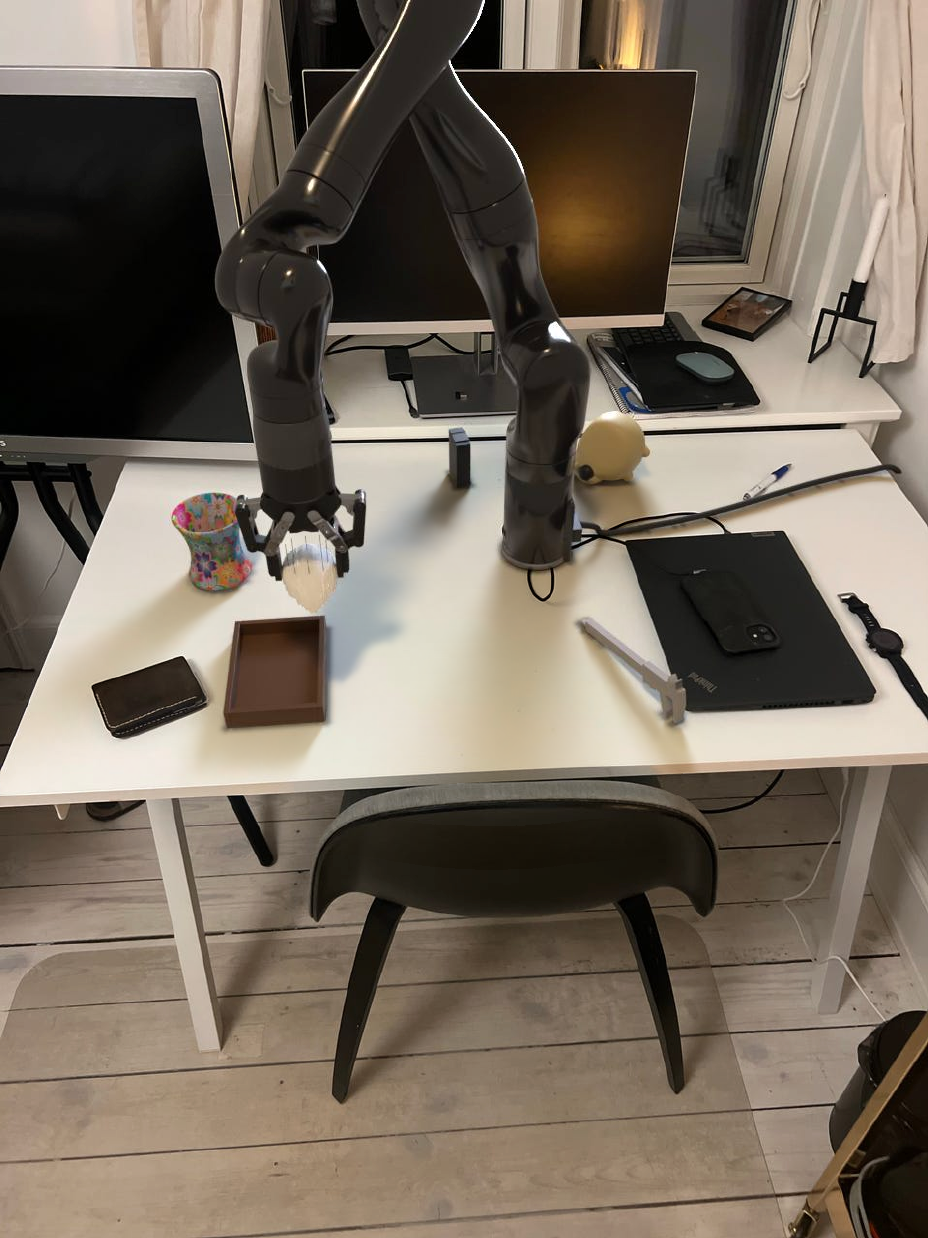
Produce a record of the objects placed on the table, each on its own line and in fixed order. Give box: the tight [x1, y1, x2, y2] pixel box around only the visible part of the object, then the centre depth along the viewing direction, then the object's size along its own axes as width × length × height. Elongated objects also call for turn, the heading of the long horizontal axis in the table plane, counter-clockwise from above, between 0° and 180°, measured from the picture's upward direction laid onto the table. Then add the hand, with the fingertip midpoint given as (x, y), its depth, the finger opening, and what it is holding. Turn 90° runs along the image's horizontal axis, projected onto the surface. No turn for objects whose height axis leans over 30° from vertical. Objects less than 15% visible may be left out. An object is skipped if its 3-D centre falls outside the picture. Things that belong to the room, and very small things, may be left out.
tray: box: [222, 615, 328, 729], centre depth 117 cm, size 11×16×3 cm
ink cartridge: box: [448, 426, 472, 489], centre depth 148 cm, size 5×2×8 cm, turn 14°
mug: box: [171, 492, 252, 591], centre depth 130 cm, size 12×9×11 cm
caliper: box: [578, 617, 687, 724], centre depth 117 cm, size 20×1×6 cm, turn 28°
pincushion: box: [282, 534, 339, 615], centre depth 107 cm, size 12×6×6 cm, turn 10°
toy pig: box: [574, 410, 651, 485], centre depth 148 cm, size 10×12×11 cm
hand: (310, 574), depth 108 cm, fingers closed on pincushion, 6 cm apart
